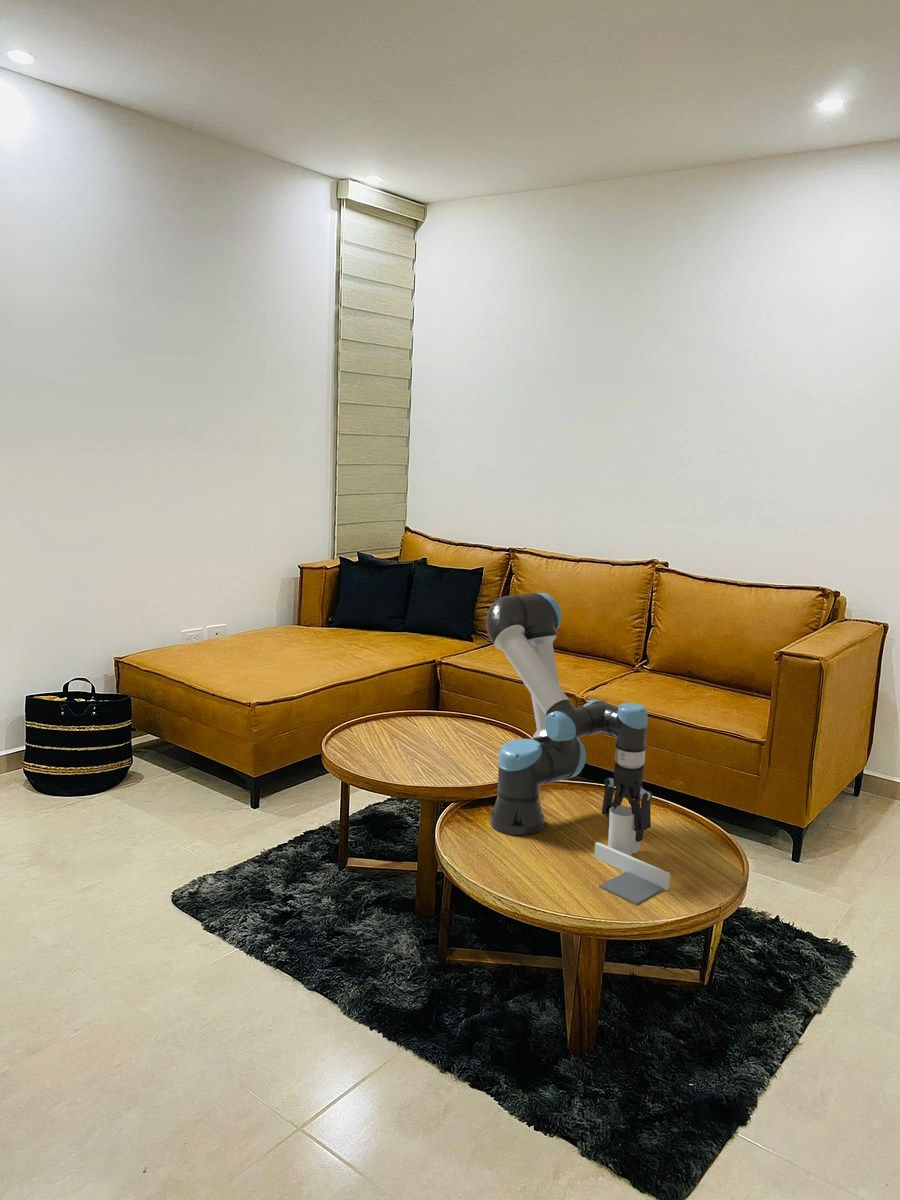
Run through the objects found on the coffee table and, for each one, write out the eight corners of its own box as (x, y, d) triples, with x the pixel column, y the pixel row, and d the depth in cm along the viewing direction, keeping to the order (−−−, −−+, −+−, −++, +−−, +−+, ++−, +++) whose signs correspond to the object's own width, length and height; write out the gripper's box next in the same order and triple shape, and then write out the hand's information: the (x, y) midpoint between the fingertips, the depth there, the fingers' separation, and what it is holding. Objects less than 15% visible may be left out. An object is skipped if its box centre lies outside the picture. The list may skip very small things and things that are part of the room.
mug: (624, 862, 229) (626, 818, 227) (601, 853, 234) (604, 810, 232) (644, 850, 237) (647, 807, 235) (622, 841, 241) (625, 800, 239)
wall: (594, 857, 232) (595, 843, 231) (597, 856, 232) (597, 842, 232) (666, 890, 216) (667, 874, 215) (669, 888, 216) (670, 873, 216)
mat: (599, 887, 216) (599, 885, 216) (626, 873, 224) (626, 871, 224) (636, 904, 208) (636, 903, 208) (663, 889, 216) (663, 888, 216)
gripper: (590, 756, 235) (585, 838, 239) (652, 777, 221) (646, 864, 225) (608, 750, 240) (603, 830, 244) (669, 771, 226) (663, 855, 230)
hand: (623, 846), depth 235 cm, fingers closed on mug, 6 cm apart
